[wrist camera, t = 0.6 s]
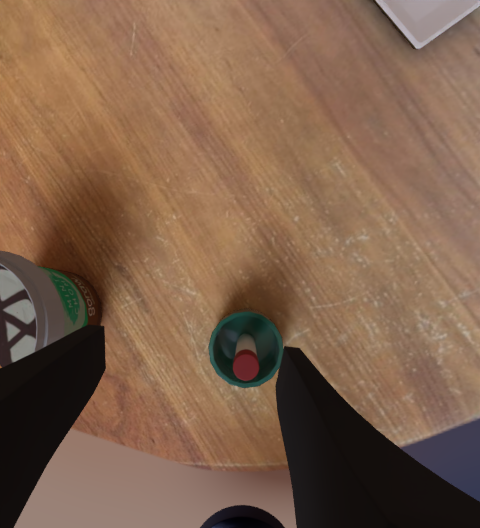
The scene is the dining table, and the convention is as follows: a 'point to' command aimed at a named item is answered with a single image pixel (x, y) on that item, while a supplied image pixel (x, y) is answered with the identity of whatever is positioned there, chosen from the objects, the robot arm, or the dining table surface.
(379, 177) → the dining table surface
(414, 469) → the robot arm
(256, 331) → the thermos cup
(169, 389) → the dining table surface
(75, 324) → the cake slice
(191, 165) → the dining table surface
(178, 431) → the dining table surface
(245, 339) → the marker
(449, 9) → the plate
